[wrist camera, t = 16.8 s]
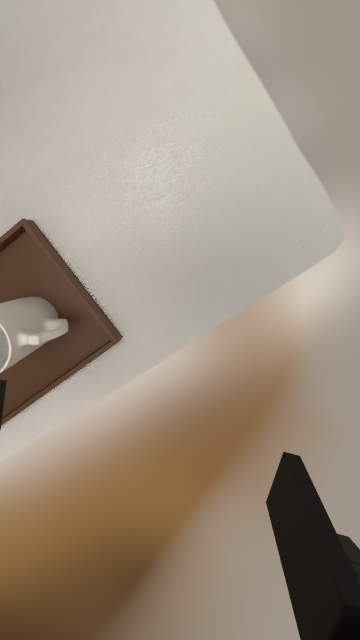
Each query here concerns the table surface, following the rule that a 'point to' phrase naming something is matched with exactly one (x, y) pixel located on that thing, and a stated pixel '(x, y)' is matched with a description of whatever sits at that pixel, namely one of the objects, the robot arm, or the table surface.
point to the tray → (69, 302)
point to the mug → (26, 328)
